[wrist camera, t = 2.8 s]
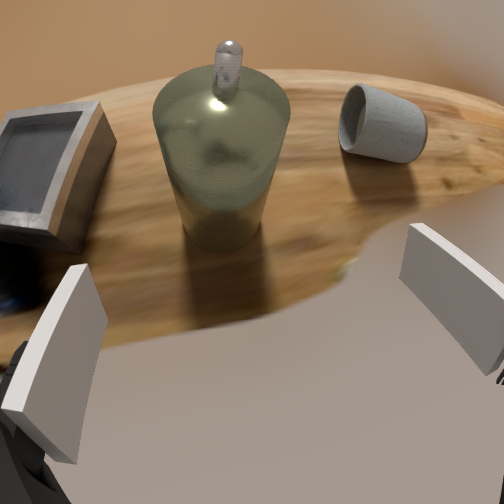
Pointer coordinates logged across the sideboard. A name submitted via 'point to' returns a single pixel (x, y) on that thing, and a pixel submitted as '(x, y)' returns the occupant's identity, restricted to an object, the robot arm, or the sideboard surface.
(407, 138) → the ceramic mug
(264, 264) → the sideboard surface
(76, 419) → the robot arm
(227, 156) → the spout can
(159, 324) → the sideboard surface
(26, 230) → the grey rectangular tray
